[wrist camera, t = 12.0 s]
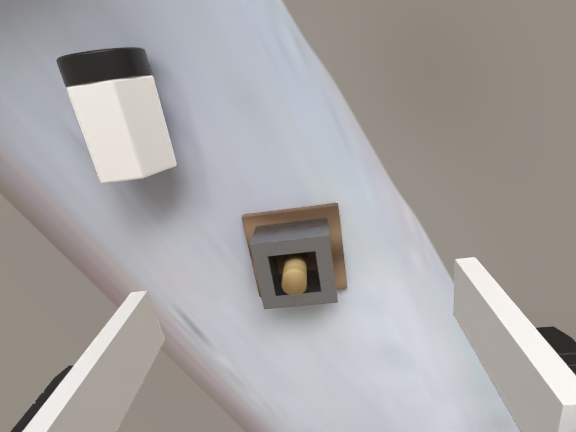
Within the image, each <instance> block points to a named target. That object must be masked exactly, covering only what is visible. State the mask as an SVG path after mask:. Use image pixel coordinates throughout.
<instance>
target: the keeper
mask: <svg viewBox="0 0 576 432" xmlns="http://www.w3.org/2000/svg"><path fill="white" fill-rule="evenodd" d="M319 218H327V219H328V227H329V235H330V243H331V251H332V259H333V267H334V275H335V284H336V289H346V288H347V283H346V274H345V265H344V255H343V246H342V237H341V228H340V219H339V210H338V203H333V204H325V205H317V206H309V207H301V208H293V209H285V210H277V211H269V212H261V213H253V214H245V215H243V217H242V220H243V225H244V229H245V234H246V238H247V243H248V247H249V251H250V256H251V260H252V265H253V269H254V274H255V278H256V283H257V287H258V291H259V296H260V297H261V293H260V288H259V284H258V279H257V275H256V270H255V266H254V261H253V257H252V252H251V248H250V242H251V239H252V236H253V233H254V230H255V227H256V226H261V225H269V224H277V223H286V222H294V221H302V220H310V219H319ZM276 260H277V265H278V270H279V273H283V277H282V289H283V290H284V292H285V293H287V294H289V295H292V296H297V295H300V294H302V293H303V292H304V291H305V290H306V287H307V271H308V270H317V269H318V265H317V258H316V251H312V252H303V253H294V254H285V255H276Z"/></svg>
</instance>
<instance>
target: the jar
mask: <svg viewBox="0 0 576 432" xmlns="http://www.w3.org/2000/svg"><path fill="white" fill-rule="evenodd" d="M57 64H58V67H59V69H60V72H61V75H62V78H63V81H64V83H65V86H66V87H67V92H68V95H69V98H70V100H71V103H72V106H73V109H74V112H75V114H76V117H77V120H78V123H79V125H80V128H81V131H82V134H83V136H84V139H85V142H86V145H87V148H88V150H89V153H90V156H91V159H92V161H93V164H94V167H95V170H96V173H97V175H98V178H99V181H100V183H102V184H105V183H112V182H120V181H128V180H136V179H143V178H146V177H148V176H151V175H154V174H156V173H159V172H162V171H165V170H167V169H170V168H173V167H175V166H176V165H177V162H176V159H175V155H174V151H173V148H172V144H171V140H170V136H169V133H168V129H167V125H166V122H165V118H164V114H163V110H162V107H161V103H160V99H159V96H158V92H157V88H156V84H155V81H154V77H153V76H152V74H151V70H150V65H149V63H148V59H147V55H146V52H145V50H144V49H143V48H133V47H131V48H112V49H101V50H93V51H86V52H80V53H74V54H69V55H65V56H62V57H59V58H58V59H57Z"/></svg>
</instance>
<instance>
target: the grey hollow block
mask: <svg viewBox="0 0 576 432" xmlns="http://www.w3.org/2000/svg"><path fill="white" fill-rule="evenodd" d="M250 248H251V252H252V257H253V261H254V266H255V270H256V275H257V279H258V284H259V288H260V293H261V297H262V301H263V306H264V309H271V308H282V307H293V306H303V305H314V304H325V303H335V302H338V301H337V292H336V284H335V275H334V267H333V259H332V251H331V243H330V235H329V227H328V219H327V218H319V219H310V220H302V221H294V222H286V223H277V224H269V225H261V226H256V227H255V230H254V233H253V236H252V239H251V242H250ZM312 251H316V258H317V265H318V269H317V270H308V271H307V287H306V290H305V291H304V292H303V293H302V294H300V295H297V296H292V295H289V294H287V293H285V292H284V290H283V289H282V277H283V273H279V270H278V265H277V260H276V255H285V254H294V253H303V252H312Z"/></svg>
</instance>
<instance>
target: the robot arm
mask: <svg viewBox="0 0 576 432" xmlns="http://www.w3.org/2000/svg"><path fill="white" fill-rule="evenodd" d="M454 277H455V278H454V311H453V315H454V316H455V318H456V320H457V322H458V323H459V325H460V327H461V329H462V330H463V332H464V334H465V336H466V337H467V339H468V341H469V343H470V344H471V346H472V348H473V350H474V351H475V353H476V355H477V357H478V358H479V360H480V362H481V364H482V365H483V367H484V369H485V371H486V372H487V374H488V376H489V378H490V379H491V381H492V383H493V385H494V386H495V388H496V390H497V392H498V393H499V395H500V397H501V399H502V400H503V402H504V404H505V406H506V407H507V409H508V411H509V413H510V414H511V416H512V418H513V420H514V421H515V423H516V425H517V427H518V428H519V430H520V432H576V342H575V341H574V340H573V339H572V338H571V337H569V336H568V335H566V334H565V333H563V332H561V331H560V330H558V329H557V328H555V327H541V328H535V327H534V326H533V325H532V324H531V322H530V321H529V320H528V319H527V318H526V317H525V315H524V314H523V313H522V312H521V311H520V310H519V308H518V307H517V306H516V305H515V304H514V302H513V301H512V300H511V299H510V298H509V297H508V295H507V294H506V293H505V292H504V291H503V290H502V288H501V287H500V286H499V285H498V284H497V282H496V281H495V280H494V279H493V278H492V277H491V276H490V274H489V273H488V272H487V271H486V270H485V268H484V267H483V266H482V265H481V264H480V263H479V261H478V260H477V259H476V258H475V257H472V258H462V259H455V276H454ZM164 341H165V337H164V334H163V331H162V329H161V326H160V323H159V321H158V318H157V315H156V313H155V310H154V307H153V304H152V302H151V299H150V296H149V294H148V291H140V292H131V293H130V295H129V296H128V297H127V298H126V300H125V301H124V302H123V304H122V305H121V306H120V307H119V309H118V310H117V311H116V313H115V314H114V315H113V316H112V318H111V319H110V320H109V321H108V323H107V324H106V325H105V327H104V328H103V330H102V331H101V332H100V333H99V334H98V336H97V337H96V338H95V340H94V341H93V342H92V343H91V345H90V346H89V347H88V348H87V350H86V351H85V352H84V353H83V355H82V356H81V357H80V359H79V360H78V361H77V362H76V364H75V365H74V366H68V367H67V368H66V369H65V370H63V371H62V372H61V373H60V374H58V375H57V376H56V377H55V378H54V379H53V380H52V381H51V383H50V384H49V385H48V386H47V388H46V389H45V391H44V393H42V394H41V395H40V396H39V398H38V399H37V400H36V403H35V404H33V405H32V406H31V407H30V409H29V410H28V411H27V412H26V413H25V415H24V416H23V417H22V419H21V420H20V421H19V422H18V423H17V425H16V426H15V427H14V428H13V429H12V431H11V432H117V430H118V428H119V426H120V424H121V422H122V420H123V418H124V417H125V415H126V413H127V411H128V409H129V407H130V405H131V403H132V401H133V399H134V398H135V395H136V394H137V392H138V390H139V388H140V386H141V384H142V382H143V381H144V379H145V377H146V375H147V373H148V371H149V369H150V367H151V365H152V363H153V361H154V360H155V358H156V356H157V354H158V352H159V350H160V348H161V346H162V344H163V342H164Z"/></svg>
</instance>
